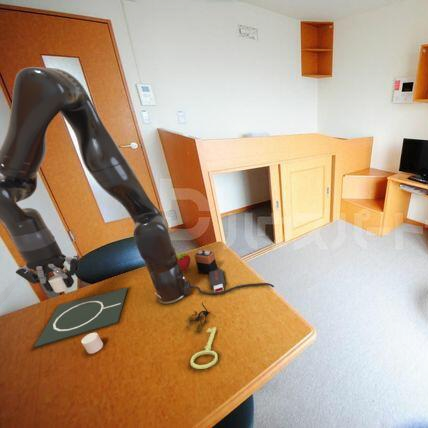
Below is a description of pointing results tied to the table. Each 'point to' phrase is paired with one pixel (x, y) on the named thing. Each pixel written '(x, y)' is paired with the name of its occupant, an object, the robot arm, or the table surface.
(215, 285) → the usb drive
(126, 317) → the table surface
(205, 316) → the creature
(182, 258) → the strawberry
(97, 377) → the table surface
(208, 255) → the battery
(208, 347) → the key
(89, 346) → the eye puck
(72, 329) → the chalkboard
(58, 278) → the eye puck
